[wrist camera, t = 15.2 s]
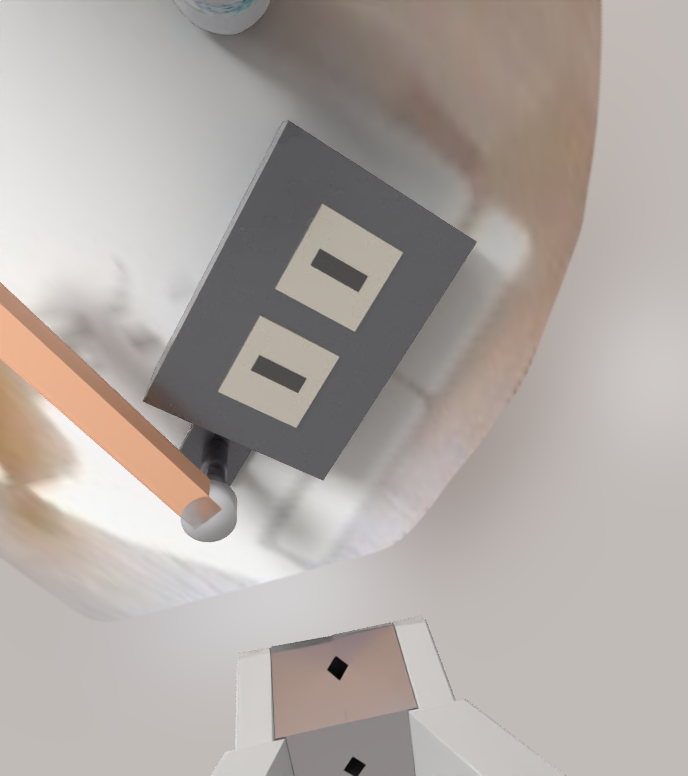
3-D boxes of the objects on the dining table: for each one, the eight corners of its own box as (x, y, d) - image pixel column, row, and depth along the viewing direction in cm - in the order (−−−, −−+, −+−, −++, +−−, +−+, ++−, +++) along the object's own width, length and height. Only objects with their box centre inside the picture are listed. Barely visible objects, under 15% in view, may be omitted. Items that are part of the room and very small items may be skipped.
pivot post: (173, 459, 49) (161, 514, 42) (201, 409, 48) (193, 457, 41) (229, 482, 50) (227, 539, 43) (257, 435, 49) (259, 485, 42)
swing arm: (247, 502, 42) (247, 522, 40) (208, 531, 43) (206, 553, 41) (-55, 214, 33) (-76, 220, 30) (-101, 256, 33) (-126, 265, 31)
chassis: (155, 369, 46) (141, 403, 40) (282, 121, 40) (289, 120, 35) (314, 442, 50) (323, 483, 44) (448, 228, 45) (478, 242, 39)
